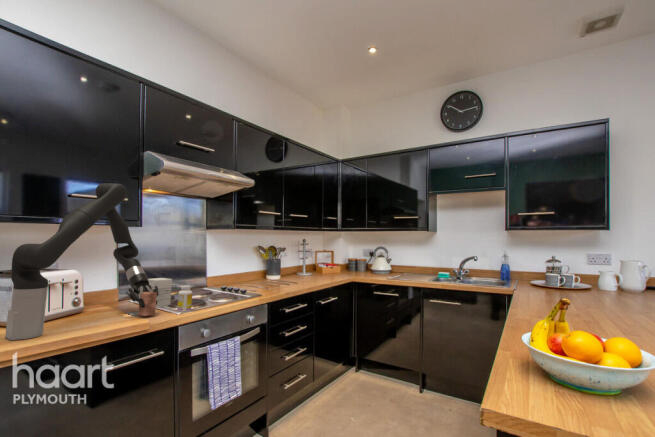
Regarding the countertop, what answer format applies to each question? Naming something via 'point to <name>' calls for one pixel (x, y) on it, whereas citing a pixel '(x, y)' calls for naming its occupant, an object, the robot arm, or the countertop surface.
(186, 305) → the supplement bottle
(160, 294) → the supplement box
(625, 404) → the countertop surface
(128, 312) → the slate card
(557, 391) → the countertop surface
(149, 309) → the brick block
